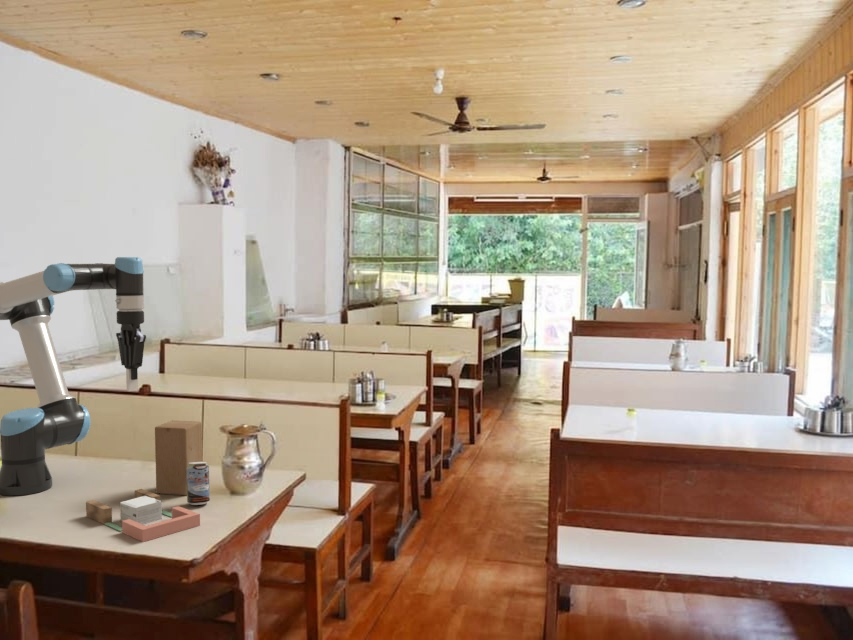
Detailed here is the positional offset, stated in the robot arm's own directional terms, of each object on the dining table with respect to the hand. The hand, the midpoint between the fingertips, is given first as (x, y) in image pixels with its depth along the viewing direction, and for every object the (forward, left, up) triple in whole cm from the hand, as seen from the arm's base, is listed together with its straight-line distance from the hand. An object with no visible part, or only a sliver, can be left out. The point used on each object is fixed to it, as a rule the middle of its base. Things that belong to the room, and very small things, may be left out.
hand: (132, 390), depth 231 cm
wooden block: (+8, +10, -31) cm, 33 cm away
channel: (+16, -12, -30) cm, 36 cm away
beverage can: (+24, +6, -31) cm, 39 cm away
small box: (+24, -12, -31) cm, 41 cm away
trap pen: (+34, -12, -30) cm, 47 cm away
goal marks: (+25, -12, -30) cm, 41 cm away
